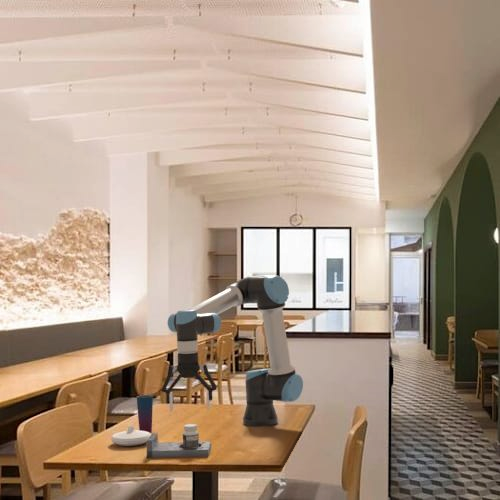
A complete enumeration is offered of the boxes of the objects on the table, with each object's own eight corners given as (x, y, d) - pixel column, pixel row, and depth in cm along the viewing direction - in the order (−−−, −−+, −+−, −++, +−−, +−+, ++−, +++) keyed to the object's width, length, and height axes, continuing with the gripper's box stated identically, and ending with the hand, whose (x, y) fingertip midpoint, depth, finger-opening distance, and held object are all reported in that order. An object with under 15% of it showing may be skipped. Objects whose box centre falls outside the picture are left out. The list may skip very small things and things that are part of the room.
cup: (150, 434, 298) (149, 397, 298) (135, 433, 299) (134, 397, 300) (156, 430, 305) (155, 394, 305) (140, 430, 306) (139, 394, 306)
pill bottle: (183, 451, 266) (182, 424, 266) (198, 450, 266) (198, 423, 267) (183, 454, 260) (182, 427, 261) (199, 454, 261) (198, 426, 261)
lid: (116, 450, 271) (115, 431, 271) (106, 442, 285) (106, 424, 285) (156, 445, 277) (156, 427, 277) (145, 438, 291) (145, 420, 292)
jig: (211, 447, 270) (210, 431, 270) (208, 456, 257) (207, 439, 257) (152, 449, 270) (152, 433, 270) (146, 458, 257) (146, 441, 257)
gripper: (222, 349, 268) (224, 407, 268) (155, 352, 269) (157, 409, 268) (220, 352, 261) (223, 410, 260) (152, 354, 261) (154, 413, 261)
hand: (190, 410), depth 264 cm, fingers open, 13 cm apart
